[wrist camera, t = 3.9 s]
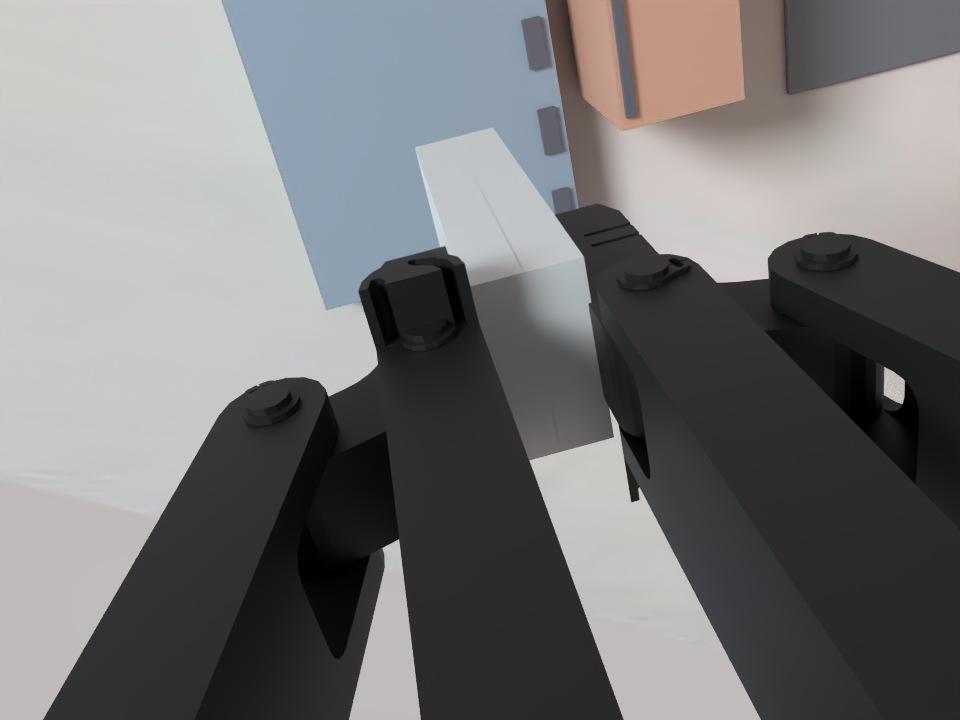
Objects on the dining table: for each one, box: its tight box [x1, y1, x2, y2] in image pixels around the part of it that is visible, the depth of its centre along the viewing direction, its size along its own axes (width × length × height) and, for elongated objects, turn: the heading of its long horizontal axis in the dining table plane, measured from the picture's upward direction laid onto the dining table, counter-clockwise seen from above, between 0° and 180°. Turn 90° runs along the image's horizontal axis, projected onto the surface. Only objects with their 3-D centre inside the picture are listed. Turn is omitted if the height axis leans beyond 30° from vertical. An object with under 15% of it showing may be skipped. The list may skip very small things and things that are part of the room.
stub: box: [567, 0, 745, 131], centre depth 28 cm, size 4×6×5 cm, turn 13°
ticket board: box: [222, 0, 579, 310], centre depth 31 cm, size 10×12×2 cm
